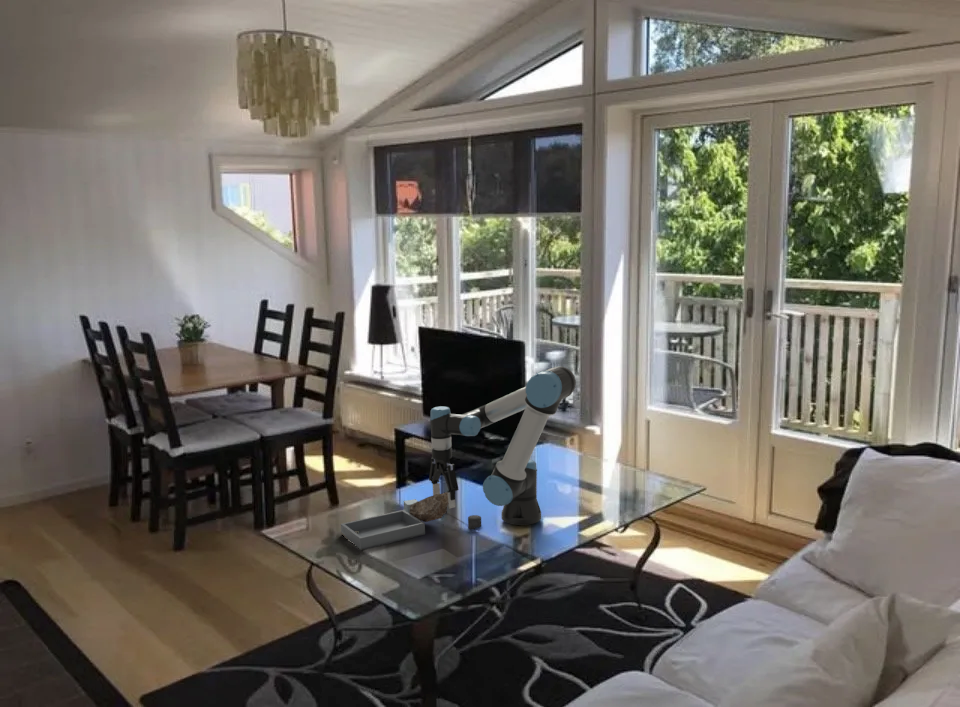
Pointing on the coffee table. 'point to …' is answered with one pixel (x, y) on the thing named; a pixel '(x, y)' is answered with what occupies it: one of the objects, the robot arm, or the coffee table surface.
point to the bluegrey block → (408, 504)
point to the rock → (430, 507)
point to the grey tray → (383, 529)
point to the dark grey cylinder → (474, 522)
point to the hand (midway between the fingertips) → (444, 503)
